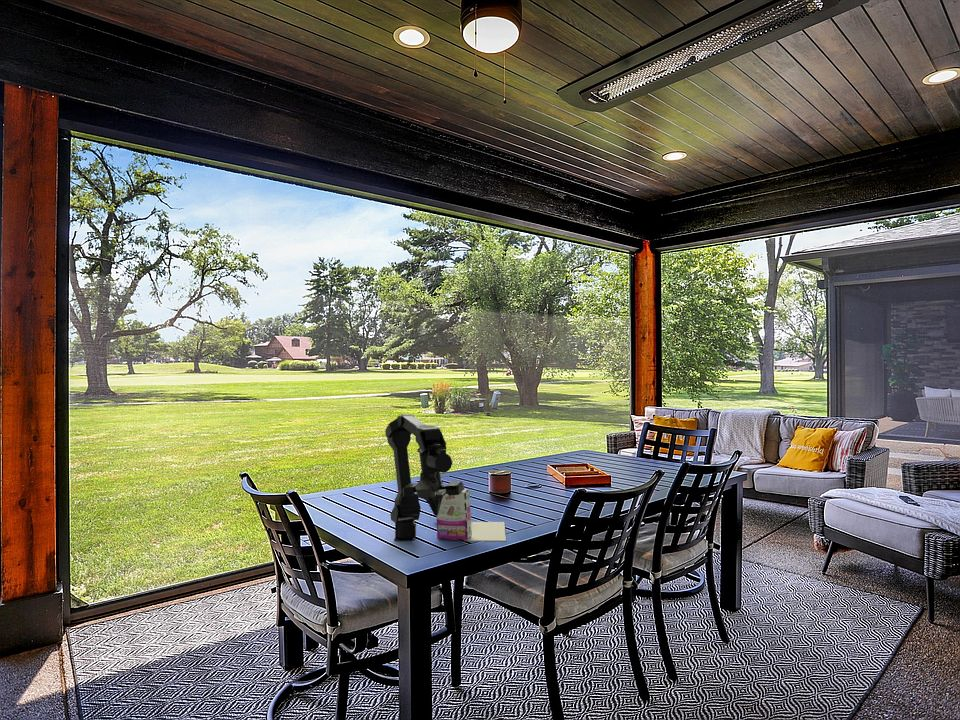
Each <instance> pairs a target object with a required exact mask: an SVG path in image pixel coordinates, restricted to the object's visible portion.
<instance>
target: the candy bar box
mask: <svg viewBox="0 0 960 720" xmlns="http://www.w3.org/2000/svg"><path fill="white" fill-rule="evenodd" d="M471 511H472V510H471V490H470V488H464V490H463V491H462V492H461V493H460V494H459V495H448V494H447V493H446V494H445V495H444V496H443V499H442V502H441V505H440V509H439V513H438V516H435V517H436V532H437V533H436V536H437V537H436V538H437V539H438V540H452V541H453V540H455V541H464V540H468V539H469V538H471V537H472V530H471V522H472V513H471Z"/></svg>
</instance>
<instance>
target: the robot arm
mask: <svg viewBox="0 0 960 720" xmlns="http://www.w3.org/2000/svg"><path fill="white" fill-rule="evenodd" d="M384 432H385V437H386V440H387V443H388V445H389V446H390V448H391V449H392V451H393V459H394V466H395V468H394V469H395V476H396V485H397V495H396V496H395V498H394V501H393V502H394V506H393V508H392V510H391V512H390V521H391V522H393V523H394V532H395V533H394V539H393V540H394V541H395V542H396V541H401V542H403V541H405V542H407V541H408V542H409V541H414V540H415V538H416V536H417V523H415V521H418V520H420V514H421V504H420V499H422V500H425V501H426V503H427V504H428V506H429V508H430V510H431V511H432V513H433V516H435V517H436V516H438V513H439V509H440V505H441V502H442V499H443V496H444V495H445V494H446V493H447V494H448V495H459V494H460V493H461V492H462V491H463V490H464V489H465V486H464V483H463V481H459V480H458V481H450V482H449V483H447V484H445V485H443V483H444V482H443V481H444V480H442V478H441V477H442V476H441V473H443V474H445V473H447V472H448V471H450V470H451V468H452V466H453V459H452V458H451V456H450V455H449V454H448V453H447V448H448V447H447V442H446V440H445V438H444V434H443V432H442V430H441V428H440V427H439V426H435V425H428V424H425V423H424V422H423V421H421V420H420V419H417V418H416V417H415V416H414V414H411V413H406V414H400V415H398V416H397V417H396V418H395V419H394V420H392V421H390V422H389V423H388V424H387V426H386V428H385V431H384ZM412 435H413V436H414V437H415V440H414V441H415V442H416V443H417V445H418V449H417V450H416V452H417V453H419V454H418V455H419V462H420V471H421V472H420V473H419V474H420V475H419V476H420V478H419V481H418V482H412V479H411V478H412V477H411V470H410V462H409V452H408V446H409V445H410V443H411V436H412Z"/></svg>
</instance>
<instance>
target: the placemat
mask: <svg viewBox="0 0 960 720" xmlns="http://www.w3.org/2000/svg"><path fill="white" fill-rule="evenodd" d="M505 525H506V524H505V521H471V530H472V537H471V538H469V539H468V540H463V541H464V542H506V541H507V538H506V526H505Z"/></svg>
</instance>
